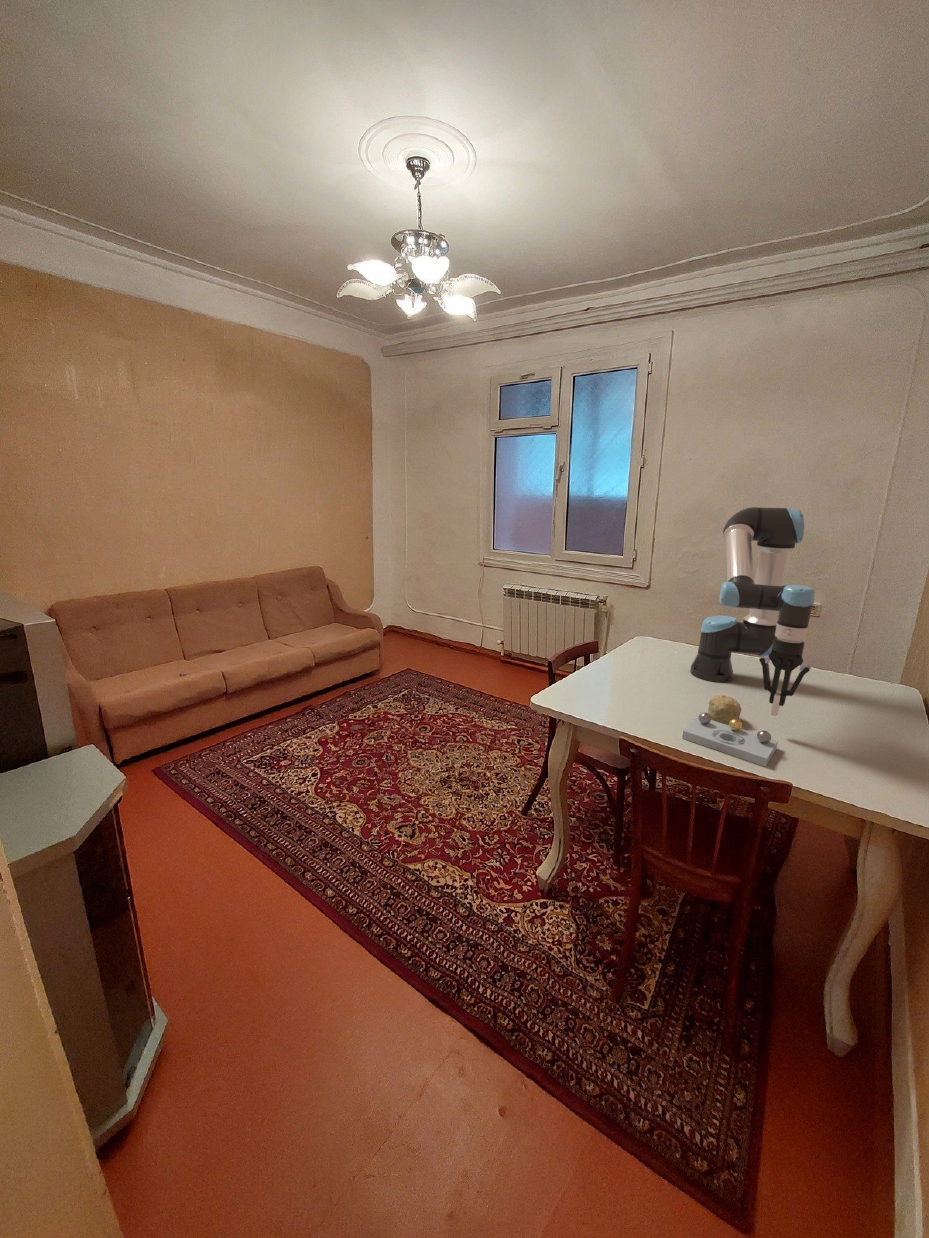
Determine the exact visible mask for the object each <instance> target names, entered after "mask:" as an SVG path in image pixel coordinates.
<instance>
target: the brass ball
mask: <svg viewBox="0 0 929 1238" xmlns="http://www.w3.org/2000/svg"><path fill="white" fill-rule="evenodd" d="M729 727H730V729H732V730H734V731H738V730H740V729H742V728H743V723H742V721H741V720H740V719H732V720H730V722H729Z"/></svg>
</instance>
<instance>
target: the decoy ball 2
mask: <svg viewBox="0 0 929 1238" xmlns="http://www.w3.org/2000/svg"><path fill="white" fill-rule="evenodd" d="M756 734H757V739H758V740H759V741H760V742H762V743H768V742H769V741H770V740H771V739H772V735H771V733H770V732H769V731H767V730H760V731H758V732H757V733H756Z"/></svg>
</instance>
